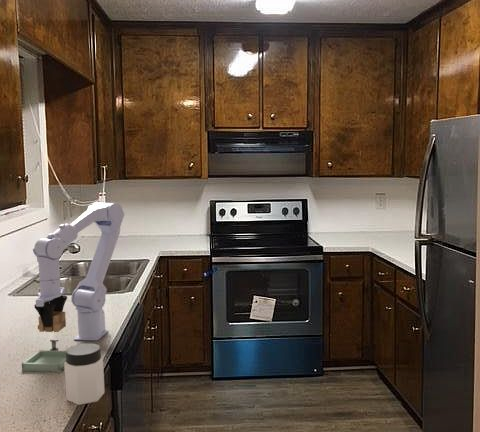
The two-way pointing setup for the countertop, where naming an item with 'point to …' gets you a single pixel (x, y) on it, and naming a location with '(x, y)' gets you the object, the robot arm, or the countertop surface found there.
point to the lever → (54, 345)
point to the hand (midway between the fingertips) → (52, 323)
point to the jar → (84, 373)
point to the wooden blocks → (54, 322)
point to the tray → (45, 361)
